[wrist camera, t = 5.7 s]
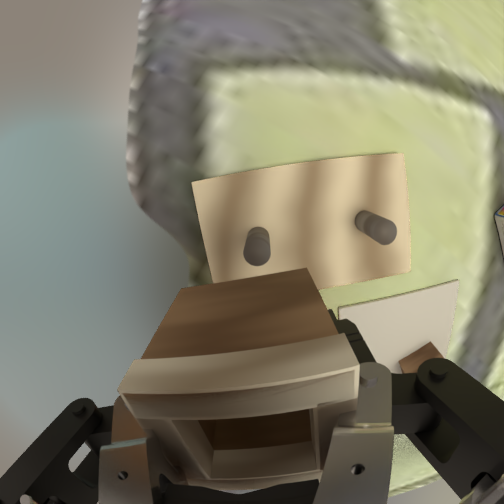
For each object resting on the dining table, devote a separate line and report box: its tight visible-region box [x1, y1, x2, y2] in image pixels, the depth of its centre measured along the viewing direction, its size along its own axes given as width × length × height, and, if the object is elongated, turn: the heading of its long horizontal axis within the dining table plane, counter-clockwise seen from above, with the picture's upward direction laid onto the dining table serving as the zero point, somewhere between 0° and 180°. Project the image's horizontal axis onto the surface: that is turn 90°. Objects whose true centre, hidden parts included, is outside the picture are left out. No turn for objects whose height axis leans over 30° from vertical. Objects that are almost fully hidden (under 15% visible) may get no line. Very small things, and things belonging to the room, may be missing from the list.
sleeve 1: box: [117, 267, 360, 490], centre depth 9 cm, size 5×5×6 cm
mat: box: [338, 279, 459, 374], centre depth 29 cm, size 16×14×1 cm
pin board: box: [191, 153, 411, 290], centre depth 23 cm, size 20×12×6 cm, turn 100°
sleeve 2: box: [399, 341, 444, 373], centre depth 27 cm, size 5×5×6 cm
